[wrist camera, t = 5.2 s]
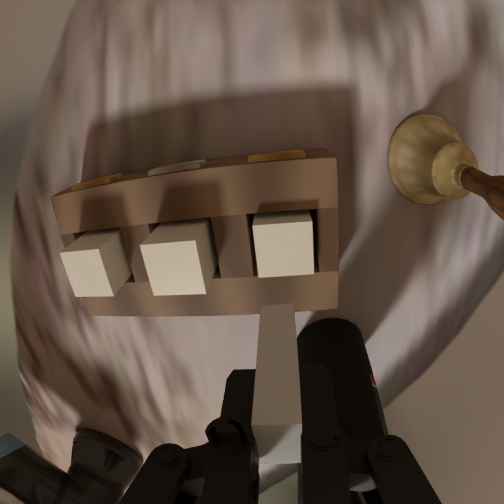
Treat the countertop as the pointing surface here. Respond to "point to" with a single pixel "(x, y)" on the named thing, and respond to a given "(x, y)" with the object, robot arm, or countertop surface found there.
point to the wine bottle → (345, 379)
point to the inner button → (97, 263)
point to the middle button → (180, 257)
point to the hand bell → (438, 164)
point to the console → (214, 228)
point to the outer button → (283, 243)
